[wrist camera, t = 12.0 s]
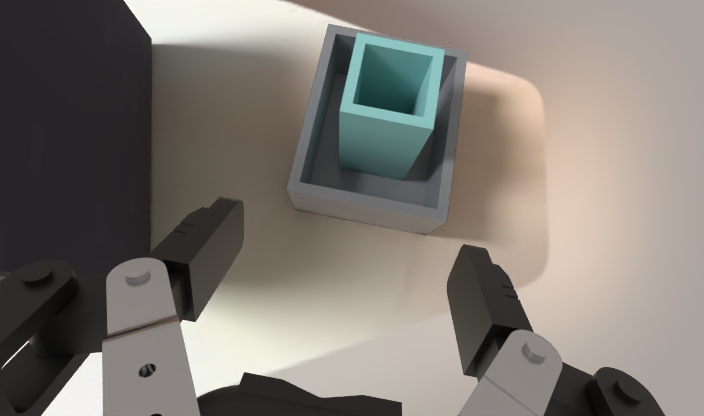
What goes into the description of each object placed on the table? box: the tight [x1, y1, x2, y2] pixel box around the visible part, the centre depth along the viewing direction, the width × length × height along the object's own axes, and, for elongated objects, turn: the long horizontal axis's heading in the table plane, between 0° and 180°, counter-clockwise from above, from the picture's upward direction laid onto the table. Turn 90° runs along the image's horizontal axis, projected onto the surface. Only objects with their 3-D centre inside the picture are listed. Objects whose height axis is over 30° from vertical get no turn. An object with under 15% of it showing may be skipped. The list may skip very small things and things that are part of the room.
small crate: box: [339, 33, 445, 181], centre depth 27 cm, size 6×6×10 cm
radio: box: [0, 0, 152, 281], centre depth 21 cm, size 24×5×20 cm, turn 8°
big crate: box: [286, 24, 468, 235], centre depth 29 cm, size 15×12×6 cm
